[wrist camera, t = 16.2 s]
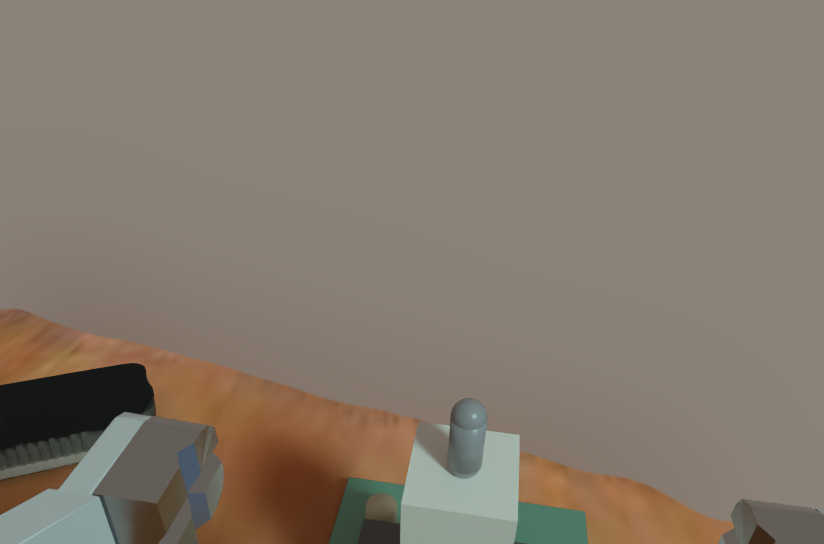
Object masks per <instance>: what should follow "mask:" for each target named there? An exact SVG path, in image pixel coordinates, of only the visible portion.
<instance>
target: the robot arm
mask: <svg viewBox="0 0 824 544" xmlns="http://www.w3.org/2000/svg"><path fill="white" fill-rule="evenodd" d="M217 443H218V440H217V435H216V431H215V427H212V426H209V425H203V424H197V423H191V422H185V421H179V420H173V419H167V418H161V417H155V416H147V415H141V414H134V413H128V412H124V413H122V414H120V415H119V416H117V417H115V418H114V419H113V421H112V422H111V423H110V424H109V426H108V427H107V428H106V429H105V431H104V432H103V433H102V435H101V436H100V437H99V438H98V440H97V441H96V442H95V443H94V445H93V446H92V447H91V448H90V450H89V451H88V452H87V453H86V455H85V456H84V457H83V458H82V460H81V461H80V462H79V463H78V465H77V466H76V467H75V469H74V470H73V471H72V472H71V474H70V475H69V476H68V477H67V479H66V480H65V481H64V482H63V484H62V485H61V486H60V487H59V489H58V490H57V489H47V490H45V491H44V492H42V493H40V494H38V495H36V496H34V497H33V498H31V499H29V500H27V501H25V502H23V503H22V504H20V505H18V506H16V507H14V508H13V509H11V510H9V511H7V512H5V513H3V514H2V515H0V544H198V539H197V535H196V529H197V528H199V527H200V526H202V525H203V524H204V523H206V522H207V521H209V520H210V519H211V518H212V515H213V513H214V511H215V509H216V507H217V505H218V503H219V499H220V495H221V491H222V488H223V475H224V471H223V466H222V461H221V460H220V459H219V458H218V457H217V456H216V455H215V454H214V453H213V450H214V449H215V447H216V445H217ZM731 518H732V521H733V524H734V527H735V528H734V529H732V530H730V531H728V532H726V533H724V534H723V535H722V536H721V539H720V542H719V544H824V510H820V509H812V508H808V507H800V506H792V505H784V504H777V503H769V502H761V501H752V500H746V499H742V500H741V501H739V502H738V503H737V504H736V505H735V507H734V509H733V511H732V514H731Z"/></svg>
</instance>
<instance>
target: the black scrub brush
mask: <svg viewBox="0 0 824 544" xmlns="http://www.w3.org/2000/svg"><path fill="white" fill-rule="evenodd" d="M124 412H128V413H134V414H141V415H147V416H156V410H155V402H154V393H153V388H152V386H151V385H150V383H149V382H148V380H147V377H146V369H145V367H144V366H143V365H141V364H136V363H129V364H121V365H115V366H110V367H103V368H97V369H91V370H86V371H80V372H74V373H68V374H62V375H57V376H51V377H45V378H39V379H34V380H28V381H22V382H17V383H11V384H5V385H0V480H3V479H7V478H12V477H17V476H22V475H27V474H31V473H35V472H40V471H44V470H49V469H53V468H58V467H63V466H66V465H68V466H69V465H71V464H76V463H79V462H80V461H81V460H82V458H83V457H84V456H85V455H86V453H87V452H88V451H89V450H90V448H91V447H92V446H93V445H94V443H95V442H96V441H97V440H98V438H99V437H100V436H101V435H102V433H103V432H104V431H105V429H106V428H107V427H108V426H109V424H110V423H111V422H112V421H113V419H114V418H115V417H117V416H119V415H120V414H122V413H124Z"/></svg>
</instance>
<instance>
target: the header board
mask: <svg viewBox="0 0 824 544" xmlns="http://www.w3.org/2000/svg"><path fill="white" fill-rule="evenodd" d="M404 487H405V485H399V484H393V483H386V482H379V481H372V480H365V479H359V478H352V477H349V479H348V483H347V486H346V489H345V492H344V496H343V499H342V502H341V505H340V508H339V512H338V515H337V518H336V521H335V525H334V528H333V531H332V534H331V538H330V541H329V544H400V525H401V502H402V497H403V492H404ZM514 544H588V541H587V530H586V518H585V512H583V511H576V510H570V509H563V508H556V507H549V506H542V505H536V504H529V503H522V502H518V523H517V529H516V535H515V540H514Z"/></svg>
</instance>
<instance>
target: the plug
mask: <svg viewBox="0 0 824 544" xmlns="http://www.w3.org/2000/svg"><path fill="white" fill-rule="evenodd" d="M486 426H487V412H486V409H485V407H484V406H483V404H482V403H480V402H479V401H478V400H475V399H472V398H465V399H462V400H460V401H458V402H457V403H456V404H455V405H454V407H453V409H452V411H451V418H450V426H448V425H441V424H433V423H426V422H418V426H417V431H416V436H415V440H414V445H413V450H412V454H411V459H410V464H409V469H408V473H407V478H406V483H405V487H404V492H403V497H402V502H401V525H400V544H514V540H515V535H516V529H517V523H518V487H519V440H520V436H519V435H514V434H506V433H500V432H492V431H486Z"/></svg>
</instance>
